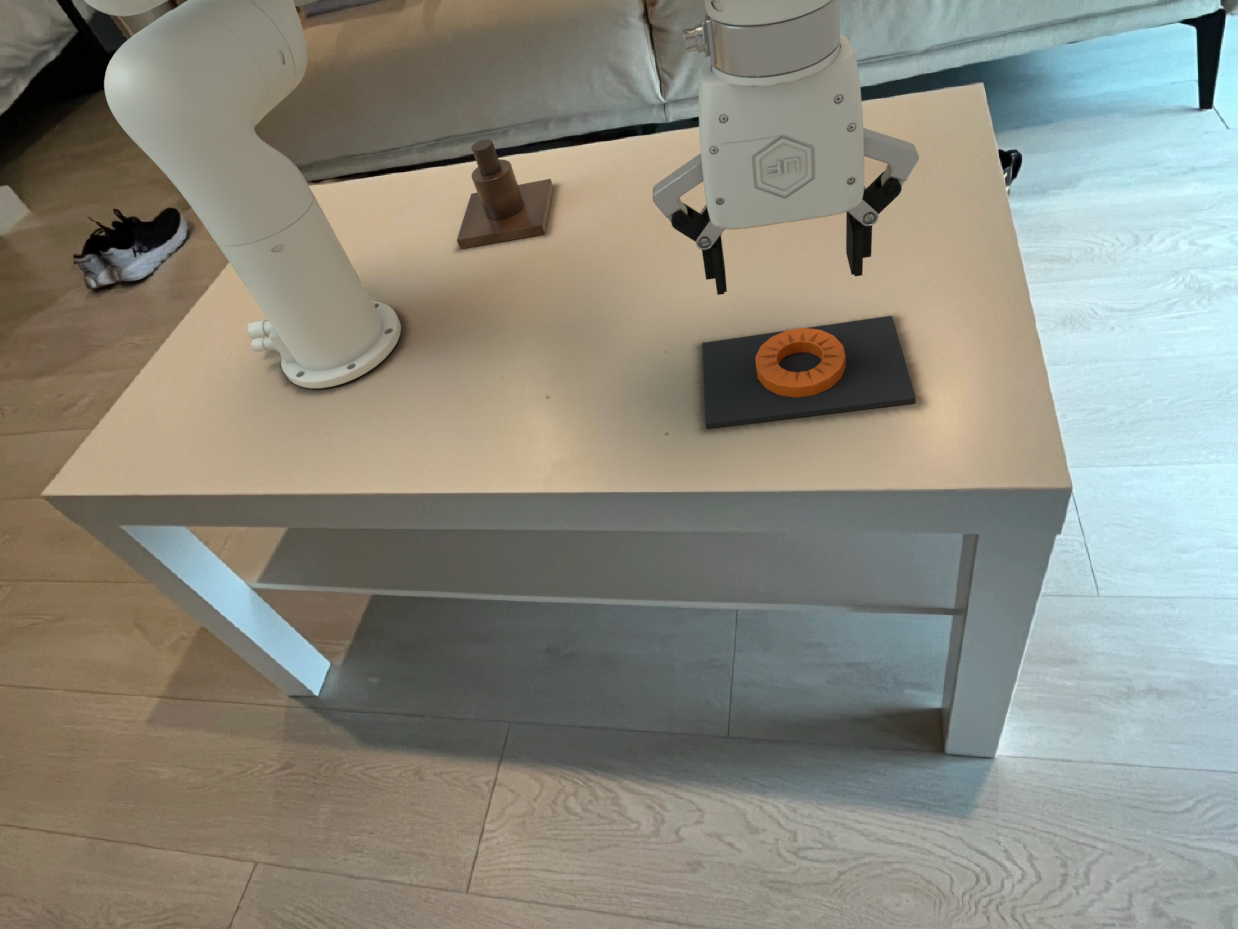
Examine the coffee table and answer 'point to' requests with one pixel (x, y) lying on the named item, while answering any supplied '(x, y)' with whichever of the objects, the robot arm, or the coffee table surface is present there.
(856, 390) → the mat
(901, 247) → the coffee table surface
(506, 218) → the brown stepped peg stand
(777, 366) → the orange flat ring
